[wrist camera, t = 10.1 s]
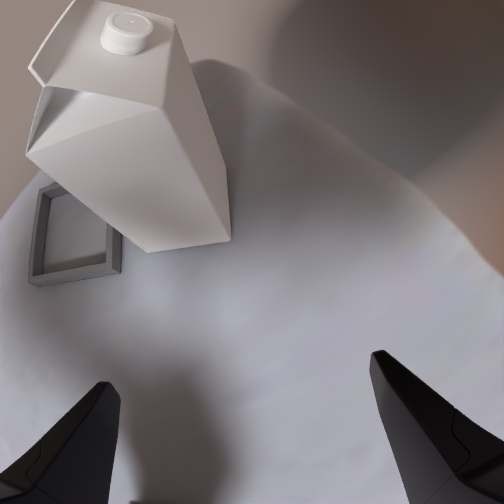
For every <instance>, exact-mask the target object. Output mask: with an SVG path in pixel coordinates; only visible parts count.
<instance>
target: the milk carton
mask: <svg viewBox="0 0 504 504" xmlns="http://www.w3.org/2000/svg"><path fill="white" fill-rule="evenodd" d="M28 69H29V70H30V71H31V72H32V74H33V75H34V76H35V78H36V79H37V80H38V81H39V83H40V84H41V85H42V86H43V89H42V92H41V95H40V98H39V102H38V105H37V108H36V112H35V116H34V119H33V123H32V127H31V131H30V135H29V139H28V144H27V148H26V153H25V156H27V157H28V158H29V159H30V160H32V161H33V162H34V163H35V164H36V165H37V166H38V167H40V168H41V169H42V170H43V171H44V172H45V173H47V174H48V175H49V176H50V177H51V178H53V179H54V180H55V181H56V182H57V183H59V184H60V185H61V186H62V187H63V188H65V189H66V190H67V191H68V192H69V193H71V194H72V195H73V196H74V197H76V198H77V199H78V200H79V201H81V202H82V203H83V204H84V205H86V206H87V207H88V208H89V209H91V210H92V211H93V212H94V213H96V214H97V215H98V216H99V217H101V218H102V219H103V220H105V221H106V222H107V223H108V224H110V225H111V226H112V227H114V228H115V229H116V230H118V231H119V232H120V233H121V234H123V235H124V236H125V237H127V238H128V239H129V240H131V241H132V242H133V243H135V244H136V245H137V246H139V247H140V248H141V249H143V250H144V251H145V252H147V253H152V252H158V251H165V250H172V249H179V248H186V247H193V246H200V245H207V244H214V243H221V242H228V241H231V239H232V237H231V224H230V212H229V199H228V186H227V174H226V166H225V163H224V160H223V157H222V154H221V151H220V148H219V145H218V143H217V140H216V137H215V134H214V131H213V128H212V125H211V123H210V120H209V117H208V114H207V111H206V108H205V106H204V103H203V100H202V97H201V94H200V91H199V88H198V86H197V83H196V80H195V77H194V74H193V71H192V69H191V66H190V63H189V60H188V57H187V54H186V52H185V49H184V46H183V43H182V40H181V38H180V35H179V32H178V30H177V27H176V25H175V23H174V21H173V20H172V19H169V18H166V17H163V16H159V15H156V14H152V13H149V12H145V11H142V10H138V9H133V8H129V7H126V6H121V5H117V4H112V3H107V2H102V1H97V0H73V1H72V3H71V4H70V5H69V6H68V8H67V9H66V10H65V12H64V13H63V14H62V16H61V17H60V19H59V20H58V21H57V23H56V24H55V25H54V27H53V28H52V30H51V31H50V33H49V34H48V36H47V37H46V39H45V40H44V42H43V43H42V45H41V47H40V48H39V50H38V51H37V53H36V54H35V56H34V58H33V59H32V61H31V63H30V65H29V66H28Z"/></svg>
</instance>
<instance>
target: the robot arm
mask: <svg viewBox="0 0 504 504" xmlns="http://www.w3.org/2000/svg"><path fill="white" fill-rule="evenodd" d="M370 377H371V381H372V385H373V389H374V393H375V397H376V402H377V406H378V410H379V414H380V417H381V420H382V423H383V425H384V428H385V431H386V434H387V437H388V440H389V442H390V445H391V448H392V451H393V454H394V457H395V460H396V463H397V466H398V469H399V472H400V475H401V478H402V481H403V484H404V487H405V490H406V494H407V497H408V500H409V503H410V504H504V441H502V440H501V439H499V438H498V437H496V436H494V435H493V434H491V433H489V432H488V431H486V430H485V429H483V428H482V427H480V426H479V425H477V424H476V423H474V422H473V421H472V420H470V419H469V418H468V417H466V416H465V415H464V414H462V413H461V412H460V411H459V410H458V409H456V408H455V409H454V406H453V405H451V404H450V403H449V402H448V401H446V400H445V399H444V398H443V397H442V396H440V395H439V394H438V393H437V392H435V391H434V390H433V389H432V388H431V387H429V386H428V385H427V384H426V383H424V382H423V381H422V380H421V379H419V378H418V377H417V376H416V375H415V374H413V373H412V372H411V371H410V370H408V369H407V368H406V367H405V366H403V365H402V364H401V363H400V362H399V361H397V360H396V359H395V358H394V357H392V356H391V355H390V354H389V353H387V352H386V351H385V350H379V351H375V352H372V354H371V360H370ZM120 403H121V400H120V396H119V394H118V393H117V391H116V390H115V388H114V387H113V385H112V384H111V383H110V382H108V381H101V382H98V383H97V384H96V385H95V386H94V387H93V388H92V389H91V390H90V391H89V392H88V393H87V394H86V395H85V396H84V397H83V398H82V399H81V400H80V401H79V402H78V403H77V404H76V405H74V406H73V407H72V408H71V409H70V410H69V411H68V412H67V413H66V414H65V415H64V416H63V417H62V418H61V419H60V420H59V421H58V422H57V423H56V424H55V425H54V426H53V427H52V428H51V429H50V430H49V431H48V432H47V433H46V434H45V435H44V436H43V437H42V438H41V439H40V440H39V441H38V442H37V443H36V444H35V445H34V446H32V447H31V448H30V449H29V450H28V451H27V452H26V453H25V454H24V455H23V456H21V457H20V458H19V459H18V460H17V461H15V462H14V463H13V464H12V465H10V466H9V467H8V468H7V469H5V470H4V471H3V472H2V473H0V504H108V499H109V491H110V484H111V476H112V470H113V463H114V457H115V450H116V444H117V438H118V428H119V415H120Z"/></svg>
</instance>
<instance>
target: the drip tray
mask: <svg viewBox="0 0 504 504" xmlns="http://www.w3.org/2000/svg"><path fill="white" fill-rule="evenodd" d="M66 193H69V192H68V191H67V190H66V189H65V188H63V187H62V186H61V185H60V184H59V183H55V184H52V185H50V186H47V187H44V188H42V189H40V190H39V195H38V201H37V206H36V213H35V219H34V226H33V233H32V242H31V251H30V262H29V275H28V283H29V284H31V285H34V286H37V287H39V286H46V285H52V284H58V283H64V282H70V281H76V280H82V279H89V278H95V277H101V276H107V275H113V274H119V273H121V233H120V232H119V231H118V230H116V229H115V228H114V227H112V226H111V225H110V224H108V223H107V240H106V263H101V264H95V265H90V266H85V267H79V268H74V269H69V270H63V271H58V272H53V273H47V274H42V271H43V257H44V245H45V236H46V227H47V219H48V212H49V205H50V199H52V198H54V197H57V196H60V195H63V194H66Z"/></svg>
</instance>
